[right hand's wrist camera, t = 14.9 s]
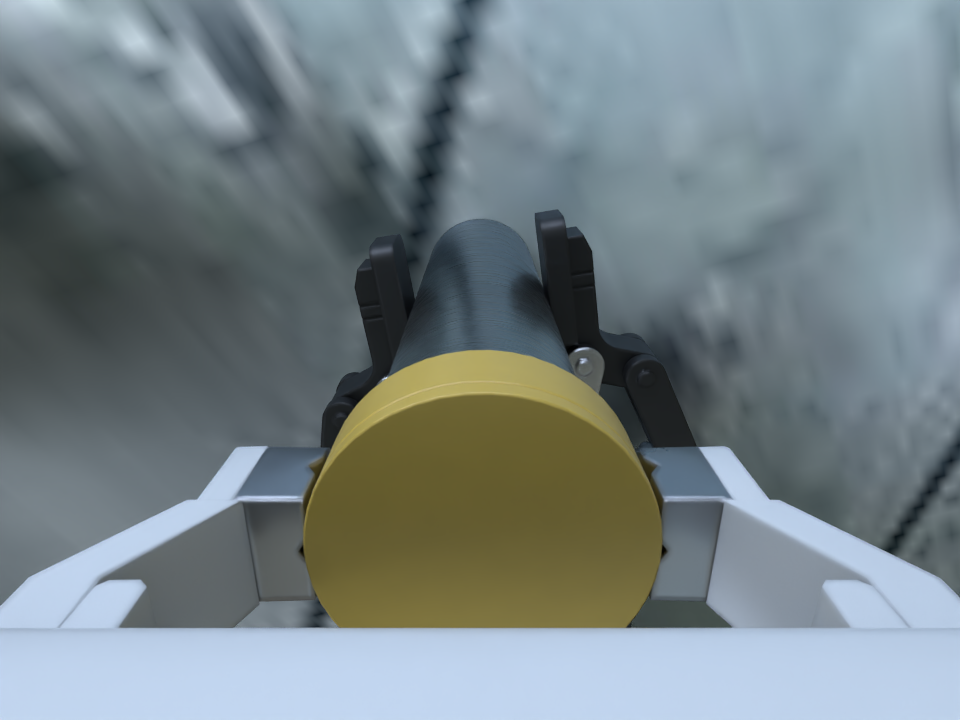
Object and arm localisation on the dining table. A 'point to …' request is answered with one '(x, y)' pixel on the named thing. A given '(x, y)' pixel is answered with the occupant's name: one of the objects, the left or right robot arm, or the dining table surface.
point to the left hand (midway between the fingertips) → (465, 230)
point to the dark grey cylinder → (481, 300)
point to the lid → (482, 503)
